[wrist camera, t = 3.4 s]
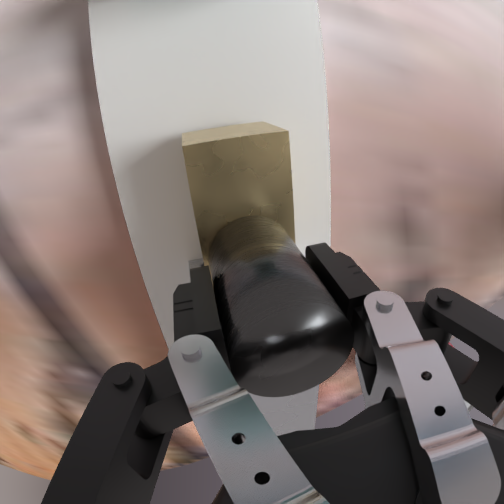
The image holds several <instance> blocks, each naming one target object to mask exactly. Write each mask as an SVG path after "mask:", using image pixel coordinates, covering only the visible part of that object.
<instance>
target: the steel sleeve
mask: <svg viewBox="0 0 504 504" xmlns="http://www.w3.org/2000/svg"><path fill="white" fill-rule="evenodd" d="M188 262H189V274H190V269H192V268H197V267H202V266H204V261H203V258H201V259H195V260H190V261H188ZM190 282H191V279H190ZM240 388H241V387H240ZM318 390H319V385H317V386H315V387H313V388H311V389H309V390H306V391H304V392H301V393H298V394H294V395H290V396H284V397H262V396H257V395H254V394H251V393H249V392H248V393H249V394H250V396H251V397H252V399H253V401H254V402H255V404H256V405H257V407H258V408H259V410H260V411H261V413H262V415H263V416H264V418H265V419H266V421H267V422H268V424H269V425H270V427H271V428H272V430H273V431H274V433H275V434H276V436H279V435H283V434H287V433H290V432H294V431H298V430H312V429H315V420H316V410H317V401H318Z"/></svg>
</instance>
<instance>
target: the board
mask: <svg viewBox="0 0 504 504" xmlns="http://www.w3.org/2000/svg"><path fill="white" fill-rule="evenodd" d="M88 11H89V25H90V36H91V46H92V55H93V63H94V71H95V78H96V85H97V92H98V98H99V104H100V110H101V116H102V121H103V127H104V132H105V137H106V142H107V147H108V151H109V156H110V161H111V165H112V170H113V174H114V178H115V182H116V186H117V190H118V194H119V198H120V202H121V206H122V210H123V213H124V217H125V221H126V224H127V228H128V231H129V235H130V238H131V242H132V245H133V248H134V252H135V255H136V258H137V261H138V264H139V268H140V271H141V274H142V277H143V280H144V283H145V286H146V289H147V292H148V295H149V298H150V300H151V303H152V306H153V309H154V312H155V314H156V317H157V320H158V323H159V325H160V328H161V331H162V333H163V336H164V338H165V341H166V343H167V346H168V349H170V347H171V345H172V344H173V343H174V321H173V313H174V312H173V293H174V292H175V290H176V288H177V286H178V285H180V284H185V283H190V274H189V262H188V261H190V260H195V259H201V258H203V256H202V251H201V246H200V241H199V236H198V231H197V226H196V221H195V216H194V211H193V205H192V200H191V195H190V189H189V183H188V178H187V172H186V166H185V161H184V155H183V149H182V133H187V132H192V131H198V130H204V129H210V128H217V127H223V126H230V125H237V124H245V123H253V122H261V121H264V122H266V123H269V124H272V125H275V126H277V127H280V128H283V129H285V130H288V131H289V141H290V155H291V170H292V186H293V203H294V222H295V244H296V246H297V247H298V249H299V250H300V251H301V253H302V254H303V256H304V257H305V250H306V246H309V245H314V244H319V243H324V242H325V243H327V244H328V246H329V247H330V246H331V175H330V142H329V120H328V103H327V89H326V76H325V64H324V54H323V44H322V35H321V26H320V18H319V10H318V2H317V0H88Z"/></svg>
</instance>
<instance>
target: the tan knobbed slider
mask: <svg viewBox="0 0 504 504" xmlns="http://www.w3.org/2000/svg"><path fill="white" fill-rule="evenodd" d="M182 149H183V155H184V161H185V166H186V172H187V178H188V183H189V189H190V195H191V200H192V205H193V211H194V216H195V221H196V226H197V231H198V236H199V241H200V246H201V251H202V256H203V261H204V266H207V265H209V269H210V274H211V279H212V283H213V288H214V293H215V298H216V303H217V308H218V313H219V317H220V322H221V327H222V332H223V337H224V341H225V346H226V351H227V355H228V360H229V364H230V369H231V373H232V375H233V377H234V379H235V380H236V382H237V384H238V385H239V387H241V388H245V389H246V390H247V392H249V393H251V394H254V395H257V396H262V397H284V396H290V395H294V394H298V393H301V392H304V391H306V390H309V389H311V388H313V387H315V386H317V385H319V384H320V383H322V382H324V381H325V380H327V379H328V378H329V377H331V376H332V375H333V374H334V373H335V372H336V371H337V370H338V369H339V368H340V367H341V366H342V365H343V364H344V362H345V361H346V359H347V358H348V356H349V354H350V352H351V350H352V347H353V343H354V331H353V328H352V325H351V323H350V322H349V320H348V319H347V317H346V316H345V314H344V313H343V311H342V310H341V308H340V307H339V306H338V304H337V303H336V301H335V300H334V298H333V297H332V295H331V294H330V292H329V291H328V290H327V288H326V287H325V285H324V284H323V282H322V281H321V280H320V278H319V277H318V275H317V274H316V272H315V271H314V270H313V268H312V267H311V265H310V264H309V263H308V261H307V260H306V258H305V257H304V256H303V254H302V253H301V251H300V250H299V249H298V247H297V246H296V244H295V222H294V203H293V186H292V170H291V155H290V141H289V131H288V130H285V129H283V128H280V127H277V126H275V125H272V124H269V123H266V122H264V121H261V122H253V123H245V124H237V125H230V126H223V127H217V128H210V129H204V130H198V131H192V132H187V133H182Z"/></svg>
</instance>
